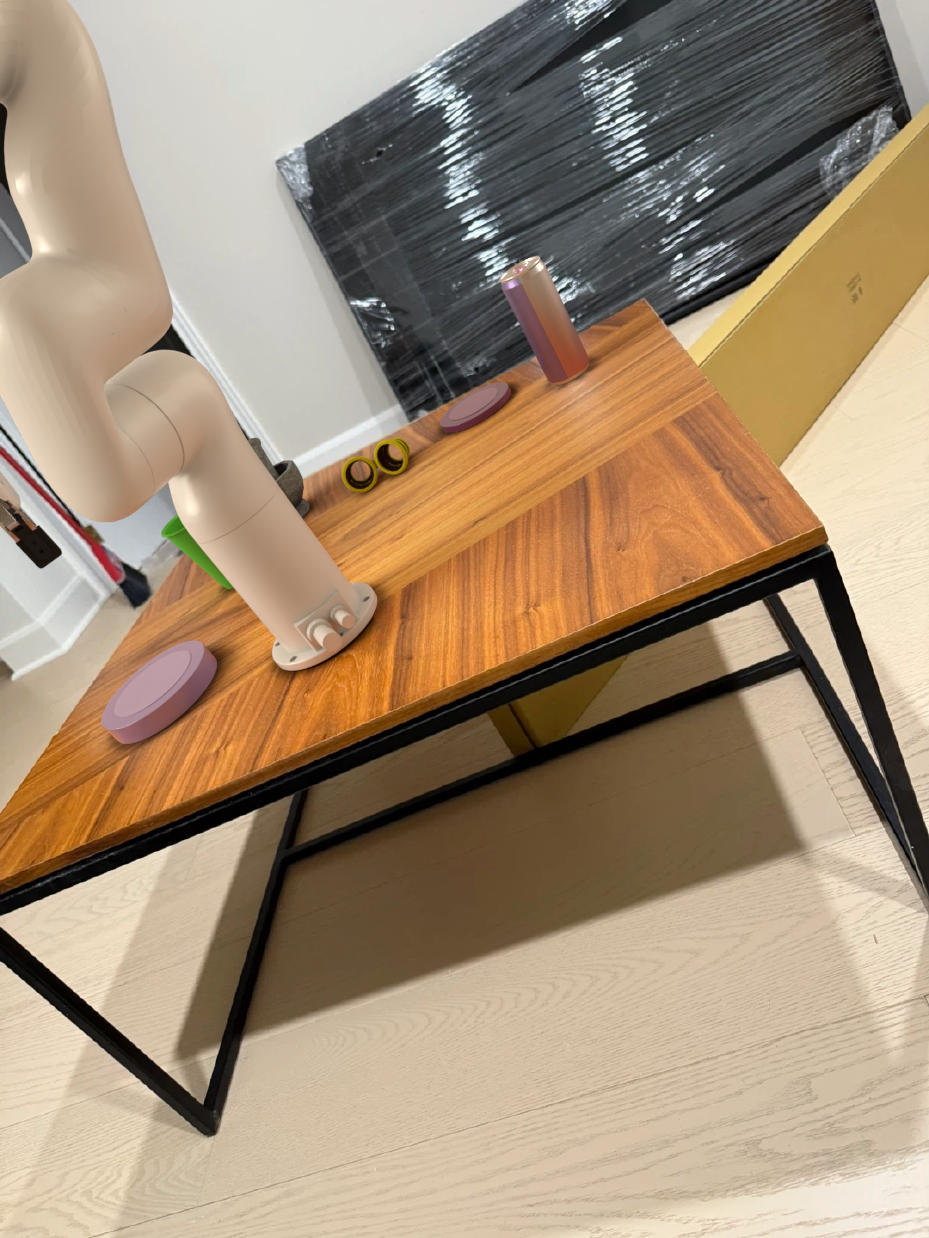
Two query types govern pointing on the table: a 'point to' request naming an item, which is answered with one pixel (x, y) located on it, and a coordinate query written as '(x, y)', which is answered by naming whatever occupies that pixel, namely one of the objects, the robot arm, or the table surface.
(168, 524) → the cup
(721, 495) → the table surface
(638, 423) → the table surface
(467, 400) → the plum dish
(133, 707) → the lavender dish
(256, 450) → the mortar and pestle
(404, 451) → the opera glasses
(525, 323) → the beverage can
